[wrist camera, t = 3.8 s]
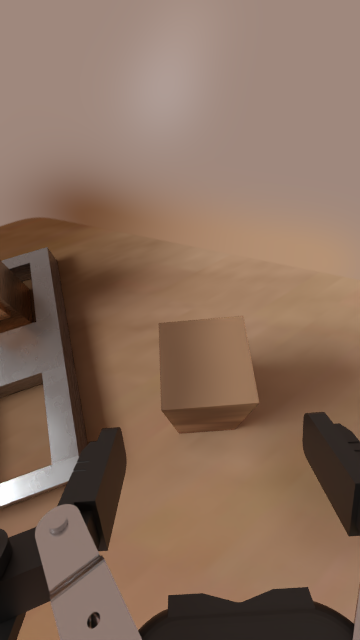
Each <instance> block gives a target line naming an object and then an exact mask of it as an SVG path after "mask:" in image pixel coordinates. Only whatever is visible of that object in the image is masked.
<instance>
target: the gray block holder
mask: <svg viewBox="0 0 360 640" xmlns="http://www.w3.org/2000/svg"><path fill="white" fill-rule="evenodd" d="M31 278H32V286H33V295H34V304H35V313H36V322H35V323H33V320H32V310H31V301H30V291H29V288H28V287H27V286H26V285H25V284H24V283H23V282H22V281H24V280H28V279H31ZM42 383H43V386H44V395H45V404H46V413H47V423H48V432H49V441H50V450H51V459H52V465H50V466H48V467H45V468H42V469H39V470H37V471H34V472H31V473H28V474H26V475H23V476H20V477H17V478H14V479H12V480H9V481H6V482H3V483H1V484H0V509H2V508H5V507H7V506H10V505H13V504H15V503H18V502H21V501H24V500H26V499H29V498H32V497H34V496H37V495H40V494H42V493H45V492H48V491H51V490H53V489H56V488H59V487H61V486H64V485H67V483H68V481H69V479H70V476H71V474H72V472H73V469H74V467H75V465H76V464H77V460H78V458H79V456H80V454H81V451H82V450H83V449H84V448H85V447H86V446H87V445H88V444H87V438H86V432H85V426H84V420H83V414H82V408H81V402H80V397H79V391H78V385H77V379H76V373H75V367H74V361H73V355H72V349H71V343H70V337H69V331H68V325H67V319H66V313H65V307H64V301H63V295H62V289H61V283H60V277H59V271H58V265H57V260H56V259H55V257H54V256H53V255H52V253H51V252H50V251H49V249H48V248H47V247H46V248H43V249H40V250H36V251H33V252H30V253H26V254H23V255H19V256H16V257H13V258H9V259H6V260H3V261H1V260H0V398H1V397H4V396H7V395H10V394H13V393H16V392H19V391H22V390H25V389H28V388H31V387H33V386H36V385H39V384H42Z"/></svg>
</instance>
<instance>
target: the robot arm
mask: <svg viewBox="0 0 360 640" xmlns="http://www.w3.org/2000/svg"><path fill="white" fill-rule="evenodd" d="M303 450H304V453H305V456H306V458H307V460H308V462H309V464H310V466H311V468H312V470H313V471H314V473H315V475H316V477H317V479H318V481H319V482H320V484H321V486H322V488H323V490H324V492H325V493H326V495H327V497H328V499H329V501H330V503H331V504H332V506H333V508H334V510H335V512H336V514H337V515H338V517H339V519H340V521H341V523H342V525H343V527H344V528H345V530H346V532H347V534H348V536H360V441H359V440H358V439H357V438H356V436H355V435H354V434H353V433H352V432H351V431H350V430H348V429H347V428H345V427H344V426H342V425H341V424H339V423H338V424H333V423H332V421H331V420H330V419H329V417H328V416H327V415H326V414H325V413H324V412H316V413H305V414H304V421H303ZM125 471H126V452H125V447H124V442H123V437H122V431H121V428H120V427H116V428H103V429H102V430H101V433H100V435H99V438H98V440H97V441H95V442H90V443H89V444H88V445H87V446H86V447H85V448H84V449H83V450H82V451H81V454H80V456H79V458H78V460H77V464H76V465H75V467H74V469H73V472H72V474H71V476H70V479H69V481H68V483H67V485H66V488H65V490H64V492H63V494H62V497H61V499H60V501H59V503H58V506H57V507H55V508H53V509H52V510H50V511H49V512H48V513H46V514H45V515H44V516H43V517H42V519H41V520H40V522H39V523H38V525H37V527H35V528H33V529H30V530H28V531H25V532H22V533H20V534H17V535H14V536H12V537H9V538H8V535H7V533H6V532H5V531H4V530H2V529H0V640H17V637H18V634H19V631H20V628H21V626H22V623H23V620H24V617H25V614H26V612H27V611H29V610H31V609H33V608H35V607H38V606H40V605H42V604H44V603H46V602H49V601H51V605H52V609H53V613H54V617H55V621H56V625H57V629H58V633H59V636H60V640H360V584H359V591H358V599H357V605H356V612H355V619H354V623H352V622H351V621H350V620H349V619H347V618H346V617H344V616H343V615H341V614H340V613H338V612H337V611H335V610H333V609H331V608H329V607H328V606H325V605H323V604H320V603H317V602H314V601H313V600H312V598H311V595H310V592H309V589H308V587H303V588H286V589H273V590H270V591H268V592H265V593H263V594H261V595H258V596H256V597H253V598H251V599H248V600H246V601H244V602H239V603H238V602H233V601H229V600H225V599H222V598H218V597H214V596H210V595H206V594H203V593H201V594H184V595H168V609H167V610H164V611H162V612H160V613H159V614H157V615H155V616H154V617H152V618H151V619H150V620H149V621H147V622H146V623H145V624H144V625H143V626H142V627H141V628H140V629H139V630H137V628H136V625H135V623H134V621H133V619H132V617H131V615H130V613H129V611H128V608H127V606H126V604H125V602H124V600H123V598H122V596H121V593H120V591H119V589H118V587H117V585H116V583H115V581H114V578H113V576H112V574H111V572H110V570H109V568H108V566H107V564H106V561H105V560H104V558H103V556H100V555H99V553H98V551H108V547H109V542H110V538H111V533H112V529H113V524H114V520H115V516H116V511H117V507H118V502H119V498H120V494H121V489H122V485H123V480H124V476H125Z"/></svg>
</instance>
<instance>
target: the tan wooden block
mask: <svg viewBox="0 0 360 640" xmlns="http://www.w3.org/2000/svg"><path fill="white" fill-rule="evenodd" d="M159 350H160V381H161V410H162V412H163V413H164V414H165V416H166V417H167V418H168V420H169V421H170V422H171V423H172V425H173V426H174V427H175V429H176V430H177V431H178V433H179V434H180V433H193V432H207V431H220V430H234V429H236V428H237V426H238V425H239V424H240V423H241V422H242V421H243V420H244V419H245V418H246V417H247V416H248V414H249V413H250V412H251V411H252V410H253V409H254V408H255V407H256V406H257V405H258V404H259V398H258V393H257V388H256V382H255V377H254V371H253V366H252V361H251V355H250V350H249V344H248V339H247V333H246V328H245V323H244V317H243V316H236V317H224V318H213V319H201V320H190V321H179V322H167V323H159Z"/></svg>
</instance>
